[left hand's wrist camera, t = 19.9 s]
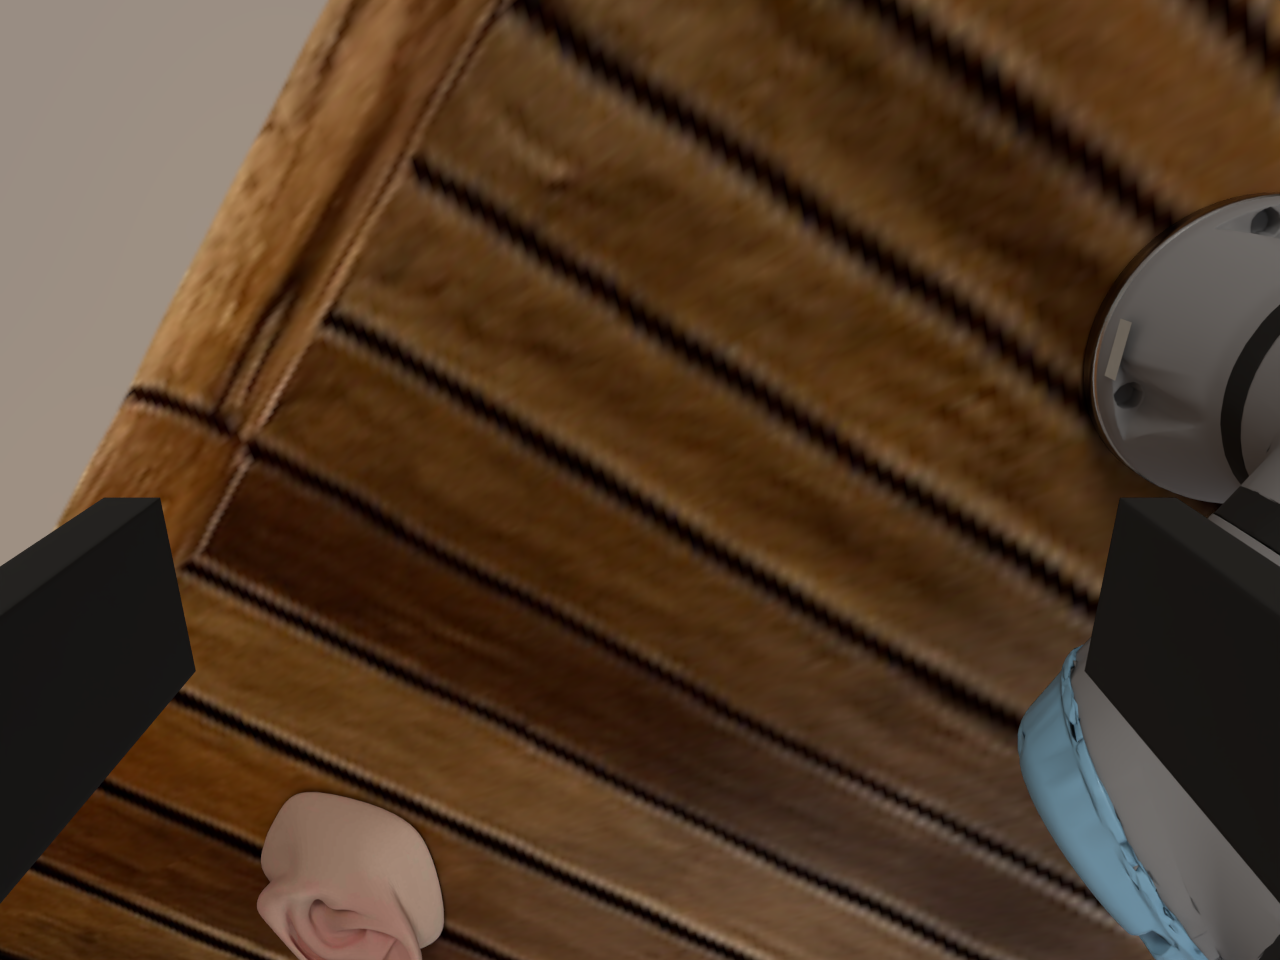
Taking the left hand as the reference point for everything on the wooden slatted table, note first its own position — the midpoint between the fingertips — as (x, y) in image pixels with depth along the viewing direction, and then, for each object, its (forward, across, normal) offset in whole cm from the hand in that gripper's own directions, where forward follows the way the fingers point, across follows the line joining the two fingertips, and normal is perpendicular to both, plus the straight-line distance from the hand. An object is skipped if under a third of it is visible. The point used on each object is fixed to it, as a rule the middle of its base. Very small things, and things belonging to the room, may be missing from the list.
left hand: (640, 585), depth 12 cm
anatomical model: (+34, -18, -38) cm, 54 cm away
